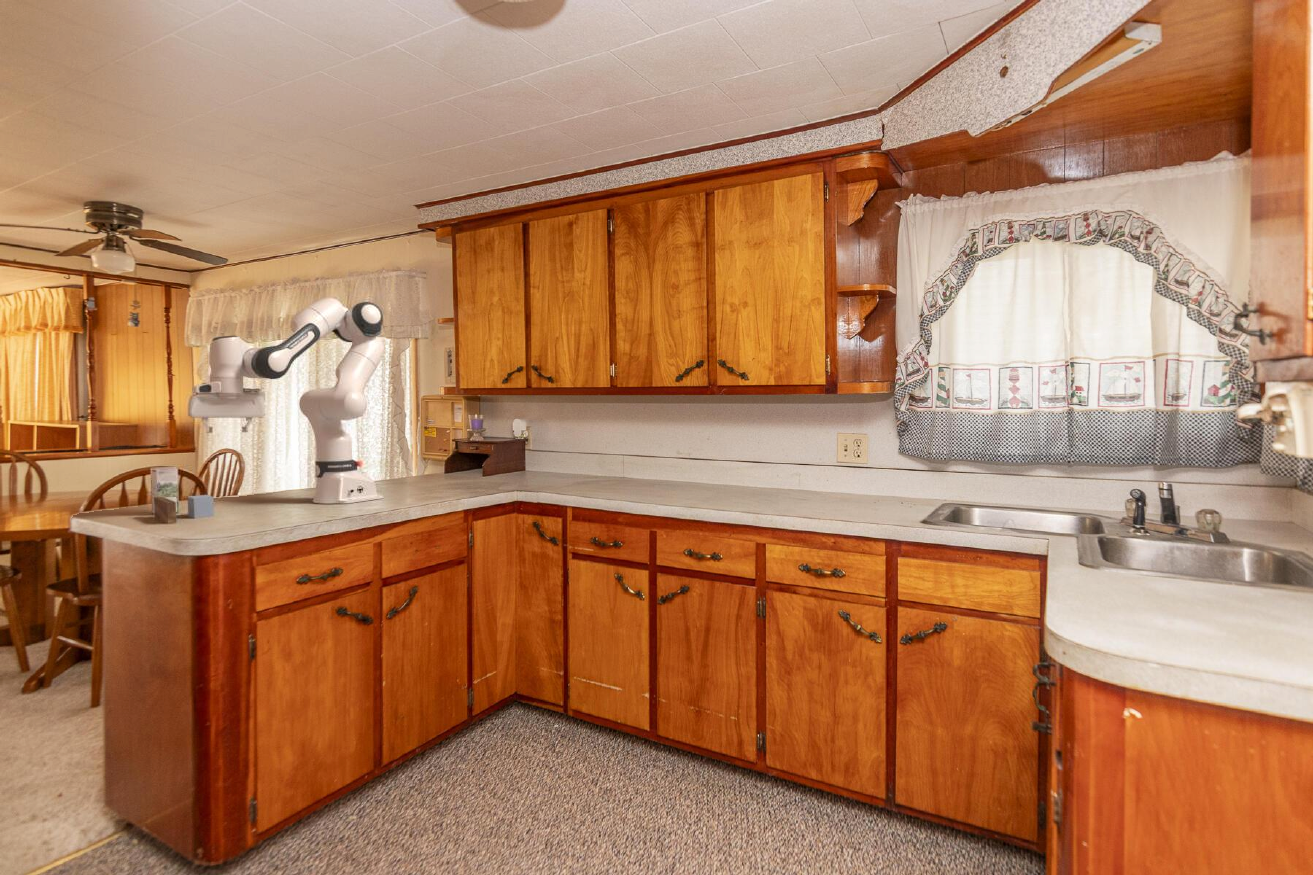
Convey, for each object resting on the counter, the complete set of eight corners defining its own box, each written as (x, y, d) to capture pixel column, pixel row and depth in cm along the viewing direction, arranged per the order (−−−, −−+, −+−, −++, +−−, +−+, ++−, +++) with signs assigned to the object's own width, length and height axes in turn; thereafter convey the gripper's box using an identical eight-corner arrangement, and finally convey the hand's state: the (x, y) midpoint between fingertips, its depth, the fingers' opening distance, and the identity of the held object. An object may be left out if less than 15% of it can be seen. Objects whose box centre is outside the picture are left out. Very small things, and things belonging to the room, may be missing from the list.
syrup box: (173, 511, 217) (171, 465, 216) (179, 513, 213) (177, 466, 212) (151, 513, 212) (149, 466, 211) (157, 515, 209) (155, 468, 208)
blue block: (207, 513, 212) (206, 494, 211) (214, 516, 207) (213, 496, 207) (188, 516, 208) (187, 496, 208) (194, 518, 203) (193, 498, 203)
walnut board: (162, 516, 207) (161, 496, 207) (176, 522, 196) (175, 502, 196) (154, 517, 206) (153, 497, 205) (168, 523, 195) (167, 502, 194)
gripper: (263, 388, 221) (263, 431, 221) (186, 387, 208) (187, 432, 208) (266, 388, 216) (267, 432, 216) (188, 386, 203) (189, 433, 203)
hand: (227, 432), depth 212 cm, fingers open, 8 cm apart
